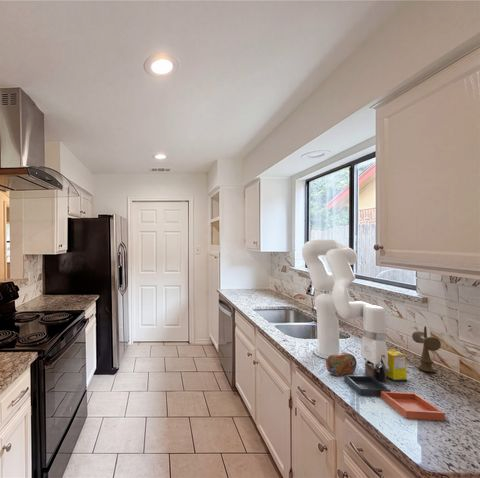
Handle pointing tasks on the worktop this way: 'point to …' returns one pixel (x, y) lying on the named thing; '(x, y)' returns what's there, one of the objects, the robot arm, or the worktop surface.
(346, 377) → the charcoal tray
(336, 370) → the tin
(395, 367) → the supplement box
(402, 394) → the terracotta tray
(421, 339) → the kendama
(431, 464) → the worktop surface
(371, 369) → the walnut block
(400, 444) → the worktop surface
